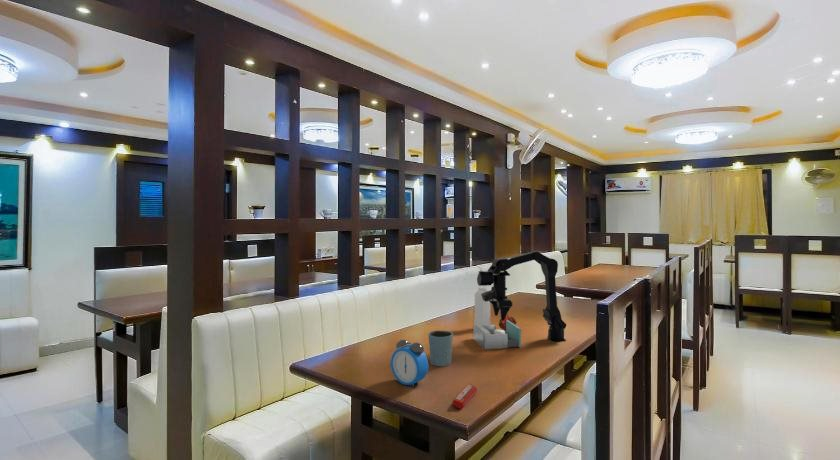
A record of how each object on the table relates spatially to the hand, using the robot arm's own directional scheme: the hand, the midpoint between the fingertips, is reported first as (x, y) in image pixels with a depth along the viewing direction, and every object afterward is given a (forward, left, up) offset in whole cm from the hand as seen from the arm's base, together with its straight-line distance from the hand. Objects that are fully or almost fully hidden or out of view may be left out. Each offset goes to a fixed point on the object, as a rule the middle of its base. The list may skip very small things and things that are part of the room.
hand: (499, 317), depth 193 cm
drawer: (-1, 0, -12) cm, 12 cm away
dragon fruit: (-11, -20, -12) cm, 26 cm away
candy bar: (+31, +57, -12) cm, 66 cm away
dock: (+5, 0, -12) cm, 13 cm away
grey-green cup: (+33, +22, -12) cm, 41 cm away
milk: (+1, -25, -12) cm, 28 cm away
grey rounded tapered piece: (0, 0, -11) cm, 11 cm away
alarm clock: (+48, +41, -12) cm, 64 cm away
